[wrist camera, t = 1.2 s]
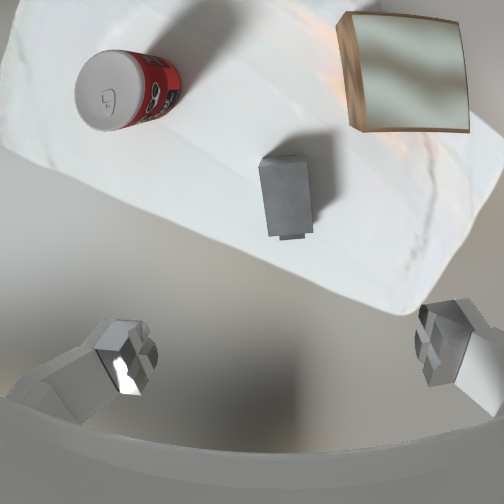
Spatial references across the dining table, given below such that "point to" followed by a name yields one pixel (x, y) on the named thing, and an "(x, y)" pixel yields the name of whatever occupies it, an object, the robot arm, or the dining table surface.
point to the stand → (403, 73)
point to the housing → (286, 196)
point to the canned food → (125, 89)
